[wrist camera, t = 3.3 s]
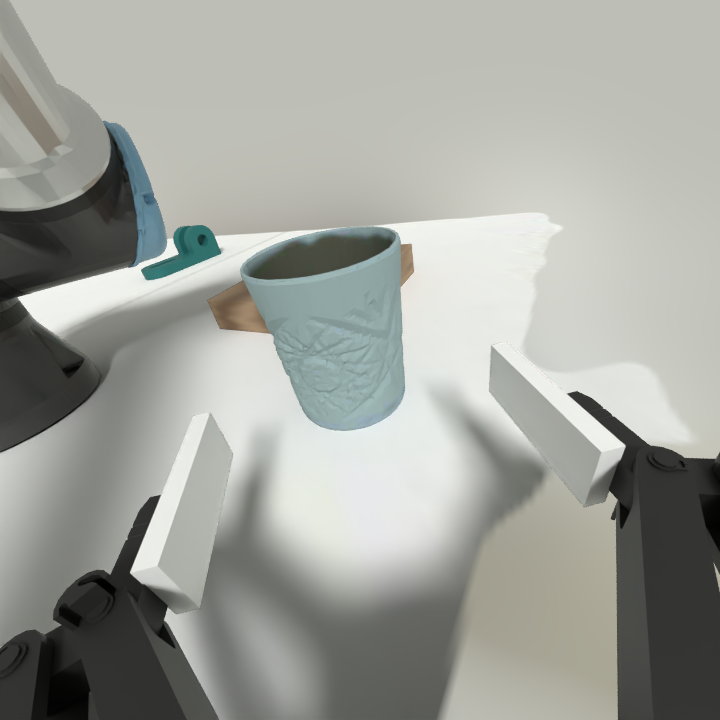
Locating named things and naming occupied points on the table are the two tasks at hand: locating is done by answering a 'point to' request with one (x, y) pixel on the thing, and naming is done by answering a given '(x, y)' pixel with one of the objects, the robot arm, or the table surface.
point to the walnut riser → (242, 314)
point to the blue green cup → (335, 321)
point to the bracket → (185, 251)
